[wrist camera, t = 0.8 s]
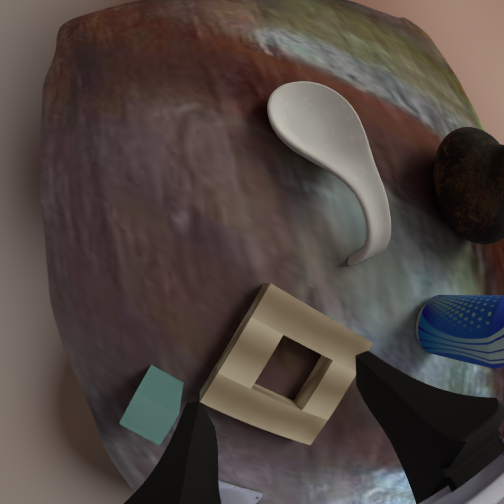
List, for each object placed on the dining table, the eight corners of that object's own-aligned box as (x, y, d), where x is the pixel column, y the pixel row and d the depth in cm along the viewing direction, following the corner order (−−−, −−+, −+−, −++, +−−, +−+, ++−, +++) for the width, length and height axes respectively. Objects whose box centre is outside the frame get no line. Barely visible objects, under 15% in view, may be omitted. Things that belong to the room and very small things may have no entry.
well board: (301, 433, 30) (310, 445, 27) (199, 391, 28) (199, 402, 25) (359, 338, 32) (372, 343, 29) (263, 283, 31) (270, 283, 28)
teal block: (167, 409, 27) (159, 445, 20) (136, 391, 27) (119, 423, 19) (183, 382, 28) (178, 414, 20) (151, 364, 28) (136, 391, 20)
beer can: (441, 285, 35) (529, 282, 20) (451, 333, 35) (532, 343, 19) (405, 311, 34) (502, 320, 18) (417, 362, 33) (503, 387, 18)
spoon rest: (247, 103, 33) (258, 68, 26) (322, 89, 35) (343, 60, 28) (324, 278, 32) (355, 277, 25) (395, 242, 35) (431, 234, 28)
